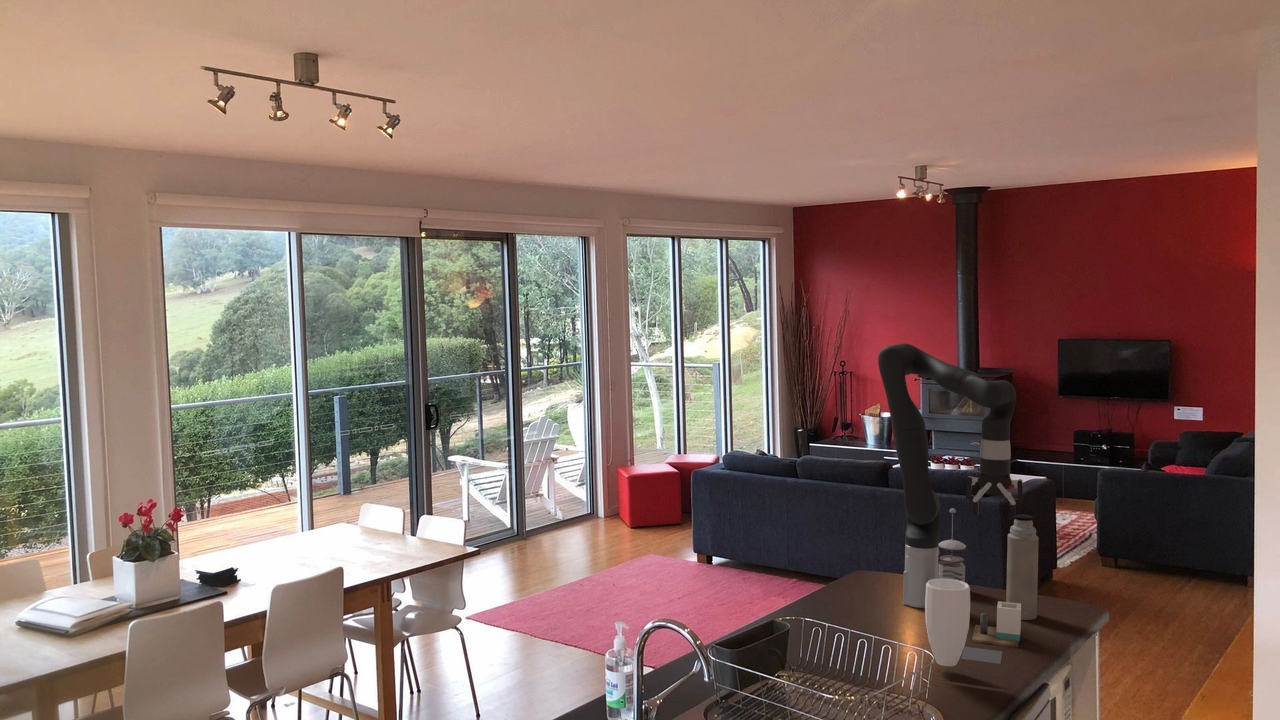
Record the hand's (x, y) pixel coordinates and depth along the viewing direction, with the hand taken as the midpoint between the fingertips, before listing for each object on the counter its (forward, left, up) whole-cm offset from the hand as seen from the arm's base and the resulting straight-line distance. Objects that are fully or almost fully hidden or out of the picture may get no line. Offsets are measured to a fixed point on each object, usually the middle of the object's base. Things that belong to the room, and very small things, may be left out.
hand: (993, 517), depth 260 cm
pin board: (+2, -8, -30) cm, 31 cm away
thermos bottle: (+7, +15, -30) cm, 35 cm away
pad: (-1, -23, -30) cm, 38 cm away
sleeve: (+5, -8, -29) cm, 30 cm away
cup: (-8, -38, -30) cm, 49 cm away
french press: (-14, +32, -30) cm, 46 cm away
